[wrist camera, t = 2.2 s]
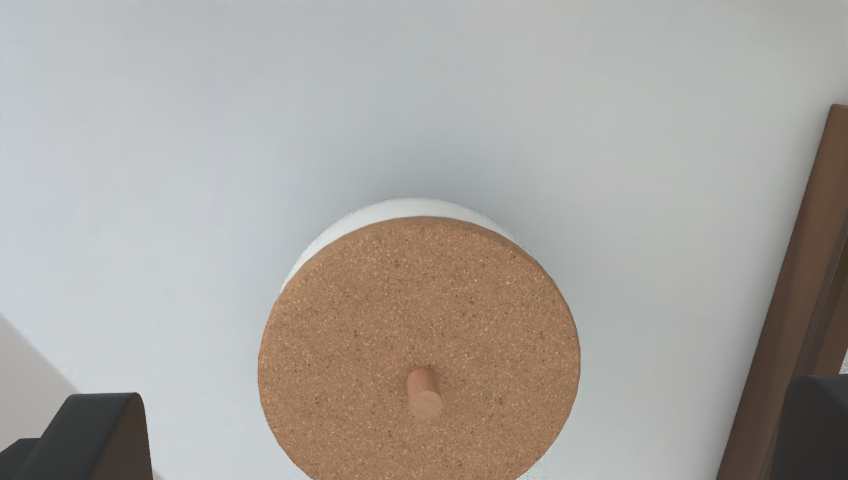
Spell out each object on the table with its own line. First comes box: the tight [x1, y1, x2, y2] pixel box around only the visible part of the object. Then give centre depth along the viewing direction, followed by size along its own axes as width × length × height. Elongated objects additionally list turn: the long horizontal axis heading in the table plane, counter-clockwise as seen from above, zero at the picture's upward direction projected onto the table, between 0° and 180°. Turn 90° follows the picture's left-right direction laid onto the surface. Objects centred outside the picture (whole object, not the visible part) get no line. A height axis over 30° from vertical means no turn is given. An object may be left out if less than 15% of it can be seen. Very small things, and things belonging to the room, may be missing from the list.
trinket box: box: [258, 197, 580, 480], centre depth 29 cm, size 11×11×9 cm
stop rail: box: [717, 104, 848, 480], centre depth 34 cm, size 2×20×3 cm, turn 172°
